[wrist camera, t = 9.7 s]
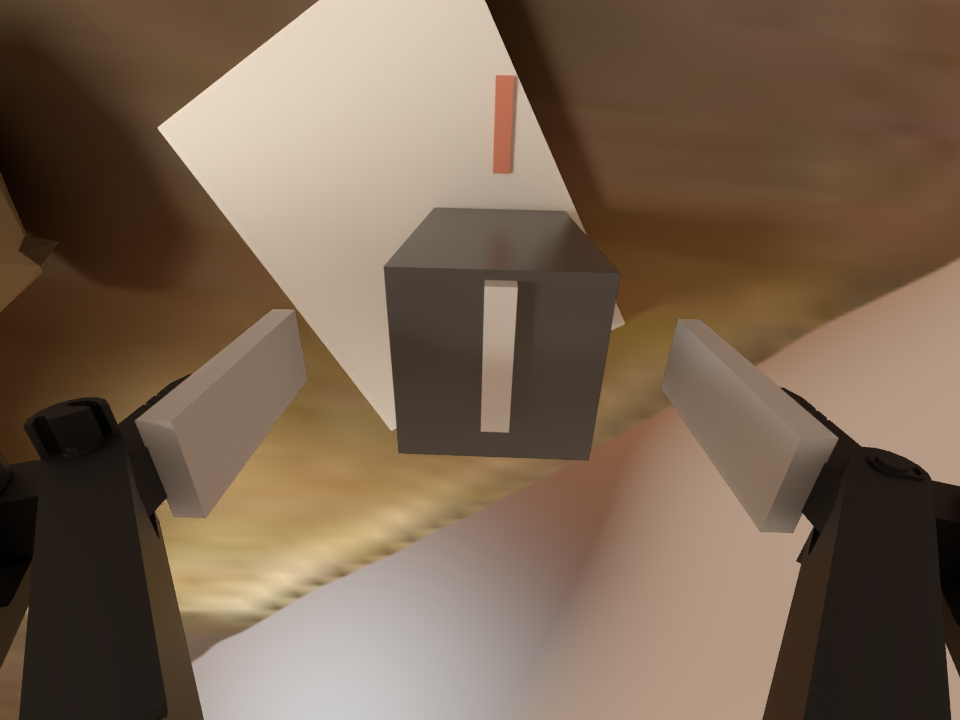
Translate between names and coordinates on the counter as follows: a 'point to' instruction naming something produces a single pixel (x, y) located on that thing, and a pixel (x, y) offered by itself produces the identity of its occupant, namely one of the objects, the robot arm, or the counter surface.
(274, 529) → the counter surface
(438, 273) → the grey block with stripe
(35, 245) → the low-poly potato
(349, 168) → the panel
